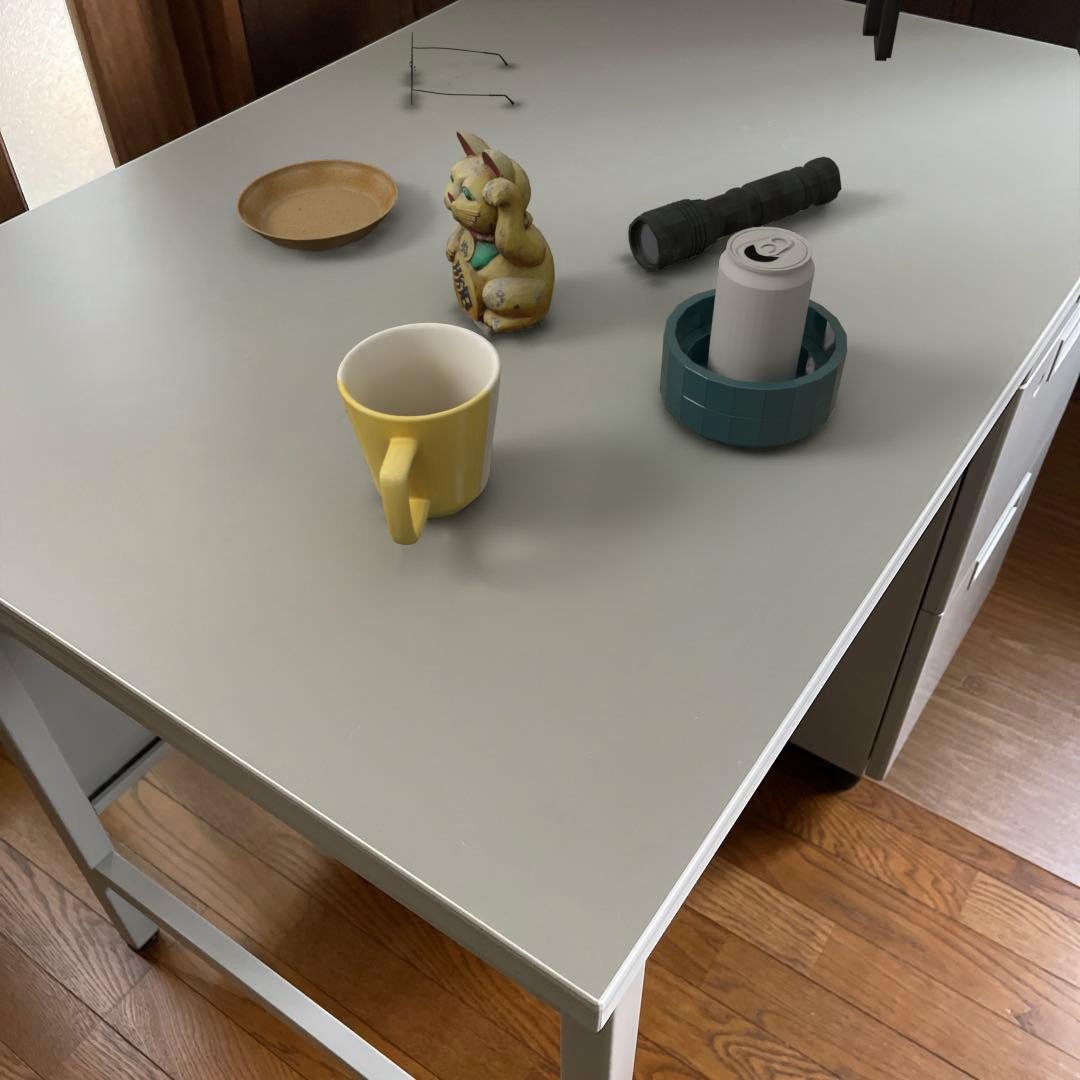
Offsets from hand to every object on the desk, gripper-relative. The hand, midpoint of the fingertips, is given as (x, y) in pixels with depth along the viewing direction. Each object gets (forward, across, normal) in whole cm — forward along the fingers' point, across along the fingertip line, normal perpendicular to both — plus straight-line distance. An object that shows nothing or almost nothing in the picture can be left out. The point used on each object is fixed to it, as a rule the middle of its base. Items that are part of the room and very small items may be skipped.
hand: (982, 54), depth 54 cm
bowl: (+29, -9, +10) cm, 32 cm away
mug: (+29, -30, -6) cm, 42 cm away
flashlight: (+29, -11, +34) cm, 46 cm away
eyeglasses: (+29, -43, +61) cm, 80 cm away
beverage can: (+29, -9, +10) cm, 31 cm away
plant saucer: (+29, -49, +30) cm, 65 cm away
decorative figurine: (+29, -29, +18) cm, 45 cm away
